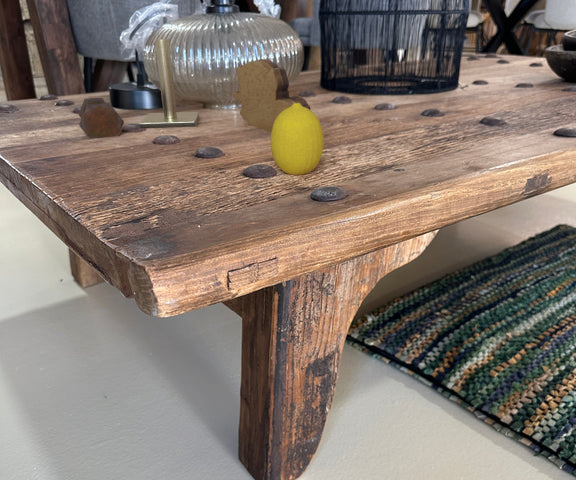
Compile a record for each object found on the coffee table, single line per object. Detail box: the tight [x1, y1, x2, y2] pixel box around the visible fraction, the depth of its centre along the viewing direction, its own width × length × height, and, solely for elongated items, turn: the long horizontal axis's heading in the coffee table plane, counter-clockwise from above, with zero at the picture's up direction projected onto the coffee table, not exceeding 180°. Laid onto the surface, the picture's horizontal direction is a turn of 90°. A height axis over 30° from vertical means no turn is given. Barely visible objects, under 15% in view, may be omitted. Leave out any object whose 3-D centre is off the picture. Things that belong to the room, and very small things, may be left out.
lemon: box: [270, 103, 325, 176], centre depth 59 cm, size 6×6×8 cm
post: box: [139, 38, 200, 129], centre depth 85 cm, size 8×8×12 cm
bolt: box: [78, 97, 125, 140], centre depth 83 cm, size 6×5×15 cm
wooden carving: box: [232, 58, 312, 133], centre depth 78 cm, size 16×5×10 cm, turn 39°
